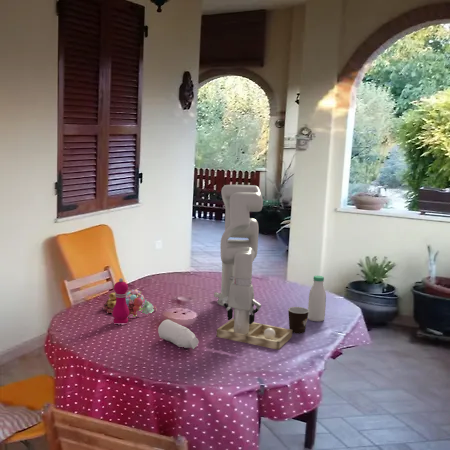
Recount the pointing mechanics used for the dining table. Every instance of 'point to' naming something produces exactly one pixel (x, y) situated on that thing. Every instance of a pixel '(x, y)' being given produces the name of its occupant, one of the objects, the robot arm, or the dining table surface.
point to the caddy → (256, 335)
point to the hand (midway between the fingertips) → (240, 321)
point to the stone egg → (269, 333)
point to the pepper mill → (120, 303)
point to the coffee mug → (298, 319)
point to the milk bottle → (317, 300)
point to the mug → (241, 321)
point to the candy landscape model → (131, 303)
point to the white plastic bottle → (177, 334)
